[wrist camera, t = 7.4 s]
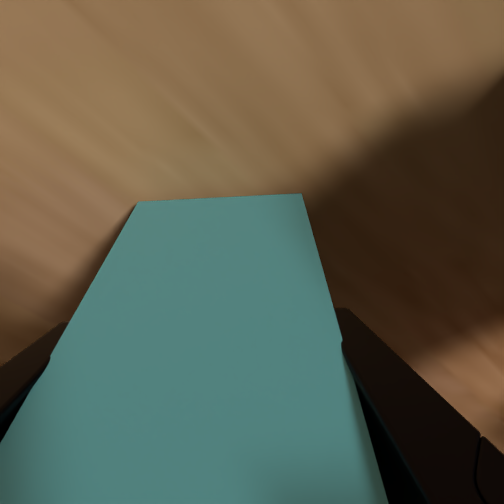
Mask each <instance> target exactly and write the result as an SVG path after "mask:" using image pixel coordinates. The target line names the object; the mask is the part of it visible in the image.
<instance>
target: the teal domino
mask: <svg viewBox="0 0 504 504" xmlns="http://www.w3.org/2000/svg"><path fill="white" fill-rule="evenodd" d="M341 342H342V336H341V332H340V329H339V325H338V322H337V318H336V315H335V311H334V308H333V304H332V300H331V297H330V293H329V290H328V286H327V283H326V279H325V275H324V272H323V268H322V265H321V261H320V258H319V254H318V250H317V247H316V243H315V240H314V236H313V233H312V229H311V225H310V222H309V218H308V215H307V211H306V208H305V204H304V201H303V197H302V193H298V194H278V195H259V196H240V197H220V198H201V199H181V200H162V201H142V202H138V203H137V205H136V206H135V208H134V210H133V212H132V213H131V215H130V217H129V219H128V220H127V222H126V224H125V226H124V227H123V229H122V231H121V233H120V234H119V236H118V238H117V240H116V241H115V243H114V245H113V247H112V249H111V250H110V252H109V254H108V256H107V257H106V259H105V261H104V263H103V264H102V266H101V268H100V270H99V271H98V273H97V275H96V277H95V278H94V280H93V282H92V284H91V285H90V287H89V289H88V291H87V292H86V294H85V296H84V298H83V299H82V301H81V303H80V305H79V306H78V308H77V310H76V312H75V313H74V315H73V317H72V319H71V320H70V322H69V324H68V326H67V327H66V329H65V331H64V333H63V334H62V336H61V338H60V340H59V341H58V343H57V345H56V347H55V348H54V350H53V352H52V354H51V355H50V357H51V358H50V362H49V364H48V366H47V367H46V369H45V371H44V372H43V374H42V375H41V376H40V378H39V379H38V381H37V382H36V383H35V385H34V386H33V387H32V389H31V391H30V392H29V394H28V396H27V398H26V399H25V401H24V403H23V405H22V406H21V408H20V410H19V412H18V413H17V415H16V417H15V419H14V420H13V422H12V424H11V426H10V427H9V429H8V431H7V433H6V434H5V436H4V438H3V440H2V441H1V443H0V504H388V500H387V497H386V493H385V489H384V486H383V482H382V479H381V475H380V472H379V468H378V464H377V461H376V457H375V454H374V450H373V447H372V443H371V439H370V436H369V432H368V429H367V425H366V422H365V418H364V415H363V411H362V407H361V404H360V400H359V397H358V393H357V390H356V386H355V382H354V379H353V376H352V374H351V372H350V370H349V367H348V365H347V363H346V361H345V358H344V355H343V353H342V348H341Z"/></svg>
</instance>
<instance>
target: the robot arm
mask: <svg viewBox="0 0 504 504" xmlns="http://www.w3.org/2000/svg"><path fill="white" fill-rule="evenodd" d="M334 311H335V315H336V318H337V322H338V325H339V329H340V332H341V336H342V342H341V348H342V353H343V355H344V358H345V361H346V363H347V365H348V367H349V370H350V372H351V374H352V376H353V379H354V382H355V386H356V390H357V393H358V397H359V400H360V404H361V407H362V411H363V415H364V418H365V422H366V425H367V429H368V432H369V436H370V439H371V443H372V447H373V450H374V454H375V457H376V461H377V464H378V468H379V472H380V475H381V479H382V482H383V486H384V489H385V493H386V497H387V500H388V504H504V454H503V453H502V452H501V451H499V450H498V449H497V448H496V447H495V446H494V445H493V444H492V443H491V442H490V441H489V440H488V439H487V438H486V437H484V436H483V437H481V438H480V436H481V434H480V432H479V431H478V430H477V429H476V428H475V427H474V426H473V425H472V424H470V423H469V422H468V421H467V420H466V419H465V418H464V417H463V416H462V415H461V414H460V413H459V412H458V411H457V410H456V409H454V408H453V407H452V406H451V405H450V404H449V403H448V402H447V401H446V400H445V399H444V398H443V397H442V396H441V395H440V394H438V393H437V392H436V391H435V390H434V389H433V388H432V387H431V386H430V385H429V384H428V383H427V382H426V381H425V380H424V379H422V378H421V377H420V376H419V375H418V374H417V373H416V372H415V371H414V370H413V369H412V368H411V367H410V366H409V365H408V364H407V363H405V362H404V361H403V360H402V359H401V358H400V357H399V356H398V355H397V354H396V353H395V352H394V351H393V350H392V349H391V348H389V347H388V346H387V345H386V344H385V343H384V342H383V341H382V340H381V339H380V338H379V337H378V336H377V335H376V334H375V333H373V332H372V331H371V330H370V329H369V328H368V327H367V326H366V325H365V324H364V323H363V322H362V321H361V320H360V319H359V318H358V317H356V316H355V315H354V314H353V313H352V312H351V311H350V310H349V309H347V308H334ZM69 322H70V321H64V322H61V323H60V324H58V325H57V326H56V327H54V328H53V329H52V330H50V331H49V332H47V333H46V334H45V335H43V336H42V337H41V338H39V339H38V340H37V341H35V342H34V343H32V344H31V345H30V346H28V347H27V348H26V349H24V350H23V351H22V352H20V353H19V354H17V355H16V356H15V357H13V358H12V359H11V360H9V361H8V362H6V363H5V364H4V365H2V366H1V367H0V443H1V441H2V440H3V438H4V436H5V434H6V433H7V431H8V429H9V427H10V426H11V424H12V422H13V420H14V419H15V417H16V415H17V413H18V412H19V410H20V408H21V406H22V405H23V403H24V401H25V399H26V398H27V396H28V394H29V392H30V391H31V389H32V387H33V386H34V385H35V383H36V382H37V381H38V379H39V378H40V376H41V375H42V374H43V372H44V371H45V369H46V367H47V366H48V364H49V362H50V358H51V357H50V355H51V354H52V352H53V350H54V348H55V347H56V345H57V343H58V341H59V340H60V338H61V336H62V334H63V333H64V331H65V329H66V327H67V326H68V324H69Z"/></svg>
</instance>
